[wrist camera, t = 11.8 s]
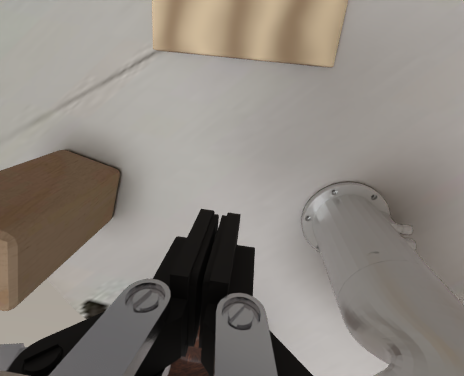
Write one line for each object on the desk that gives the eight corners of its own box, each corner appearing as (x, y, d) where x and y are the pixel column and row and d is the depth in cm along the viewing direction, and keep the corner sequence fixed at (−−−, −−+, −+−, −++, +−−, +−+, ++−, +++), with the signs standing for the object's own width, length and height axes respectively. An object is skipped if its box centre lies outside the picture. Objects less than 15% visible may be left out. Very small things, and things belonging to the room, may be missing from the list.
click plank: (352, -35, 28) (357, -40, 26) (330, 67, 32) (333, 66, 30) (155, -49, 29) (150, -55, 28) (157, 50, 33) (153, 49, 32)
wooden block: (62, 146, 40) (-107, 202, 22) (123, 168, 40) (7, 242, 22) (58, 199, 44) (-88, 285, 26) (114, 219, 44) (9, 318, 26)
